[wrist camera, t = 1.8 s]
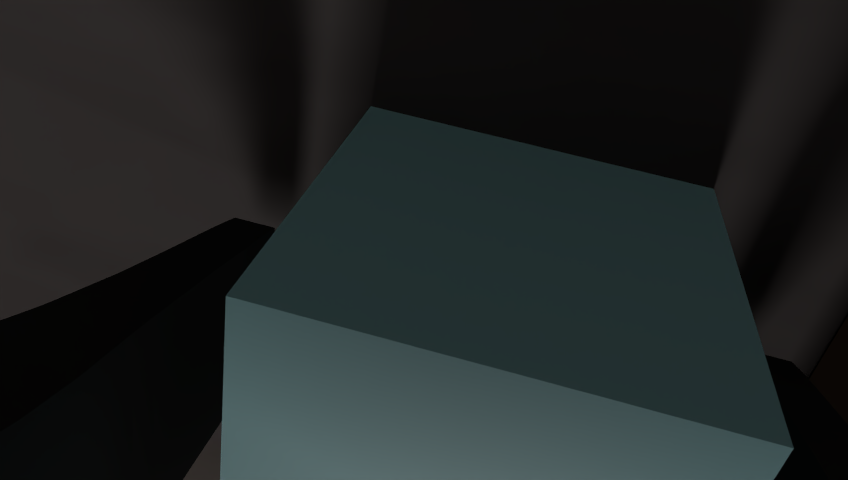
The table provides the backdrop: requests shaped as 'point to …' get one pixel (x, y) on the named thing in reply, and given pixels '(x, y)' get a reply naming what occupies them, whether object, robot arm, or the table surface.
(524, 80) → the table surface
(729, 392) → the teal block
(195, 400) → the robot arm
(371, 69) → the table surface
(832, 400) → the walnut base
